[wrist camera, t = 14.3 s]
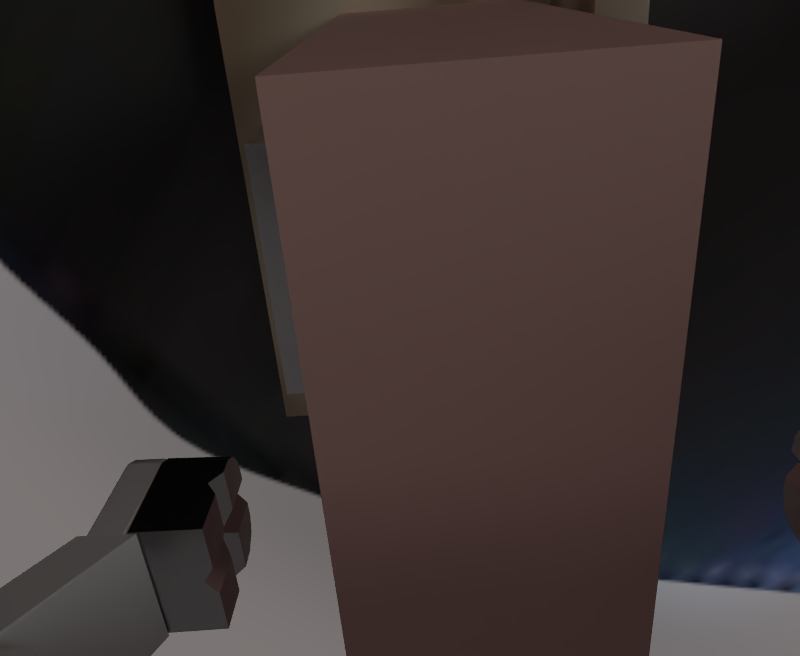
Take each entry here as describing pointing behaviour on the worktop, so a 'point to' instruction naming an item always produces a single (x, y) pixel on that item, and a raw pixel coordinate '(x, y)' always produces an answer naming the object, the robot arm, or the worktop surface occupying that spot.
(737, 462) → the worktop surface
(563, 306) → the boxed book
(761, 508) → the worktop surface
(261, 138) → the grey thin rectangular slab
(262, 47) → the beige panel with ridge
